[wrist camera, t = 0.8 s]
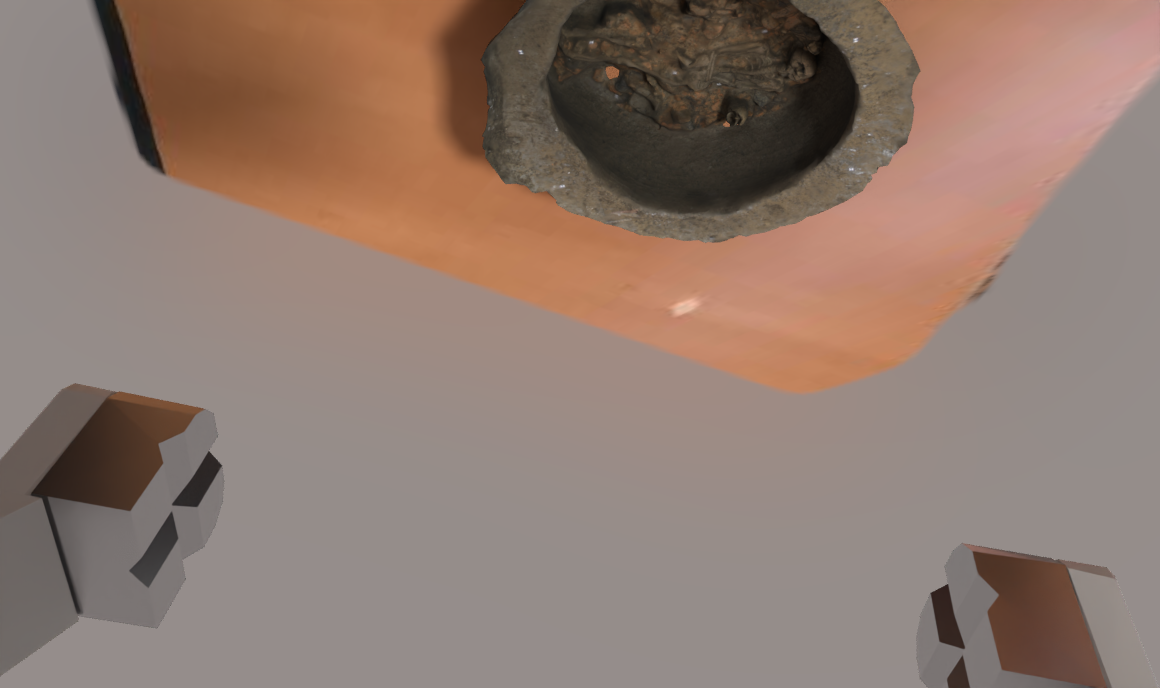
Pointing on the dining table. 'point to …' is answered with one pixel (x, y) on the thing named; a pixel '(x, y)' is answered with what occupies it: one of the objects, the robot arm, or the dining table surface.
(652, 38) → the stone bowl
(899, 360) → the dining table surface
